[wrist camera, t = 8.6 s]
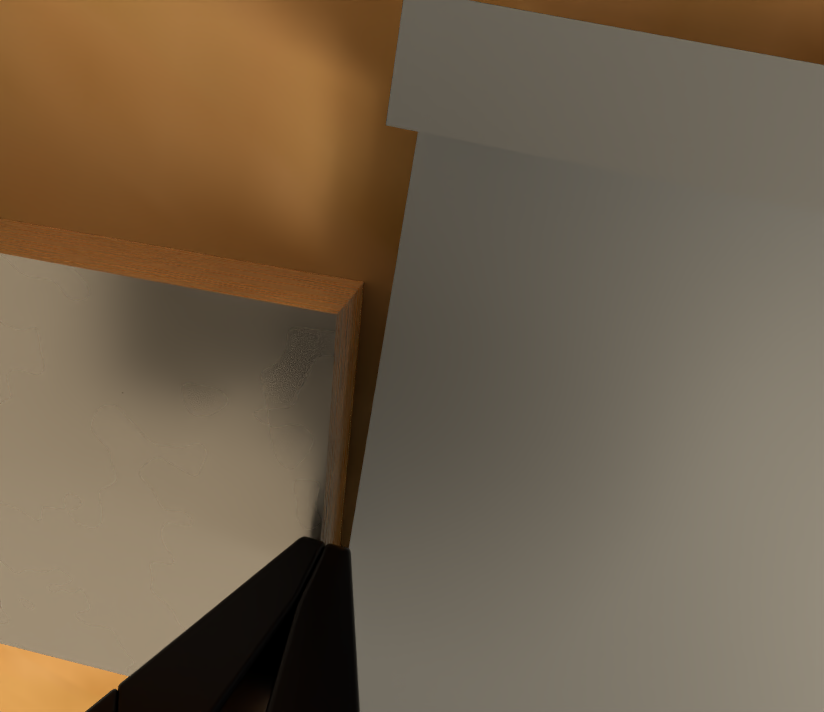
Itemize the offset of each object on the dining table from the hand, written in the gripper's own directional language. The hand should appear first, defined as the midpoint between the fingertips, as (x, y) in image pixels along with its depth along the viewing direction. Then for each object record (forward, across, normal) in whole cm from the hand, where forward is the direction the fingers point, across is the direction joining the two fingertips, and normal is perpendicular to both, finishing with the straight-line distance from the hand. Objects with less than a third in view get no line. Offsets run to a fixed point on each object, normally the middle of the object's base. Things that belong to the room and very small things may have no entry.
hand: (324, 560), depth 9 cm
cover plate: (+2, +5, 0) cm, 6 cm away
